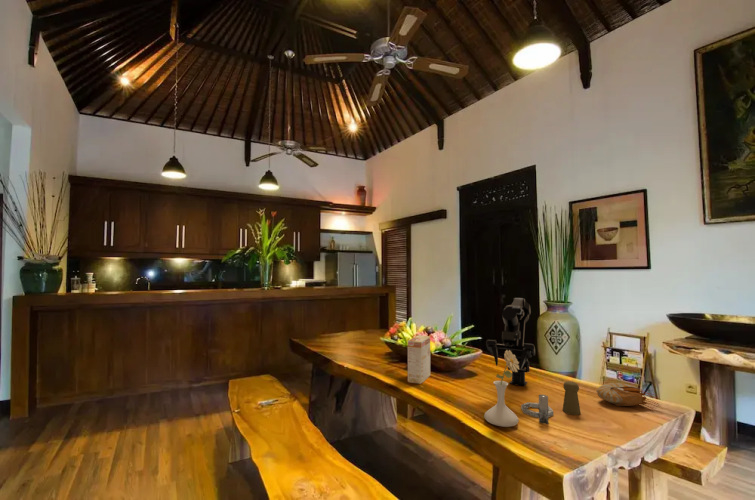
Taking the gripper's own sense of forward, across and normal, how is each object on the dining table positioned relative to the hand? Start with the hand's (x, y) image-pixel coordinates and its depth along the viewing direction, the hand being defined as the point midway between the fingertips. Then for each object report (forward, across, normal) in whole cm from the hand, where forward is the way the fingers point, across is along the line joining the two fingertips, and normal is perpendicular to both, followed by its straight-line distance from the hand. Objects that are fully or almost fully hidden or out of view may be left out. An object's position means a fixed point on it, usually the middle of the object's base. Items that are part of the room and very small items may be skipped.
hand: (508, 367), depth 145 cm
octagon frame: (+15, +11, +4) cm, 19 cm away
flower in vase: (+24, +1, -6) cm, 24 cm away
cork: (+10, +22, +11) cm, 27 cm away
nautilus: (-1, +42, +25) cm, 49 cm away
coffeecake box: (+4, -43, +19) cm, 47 cm away
